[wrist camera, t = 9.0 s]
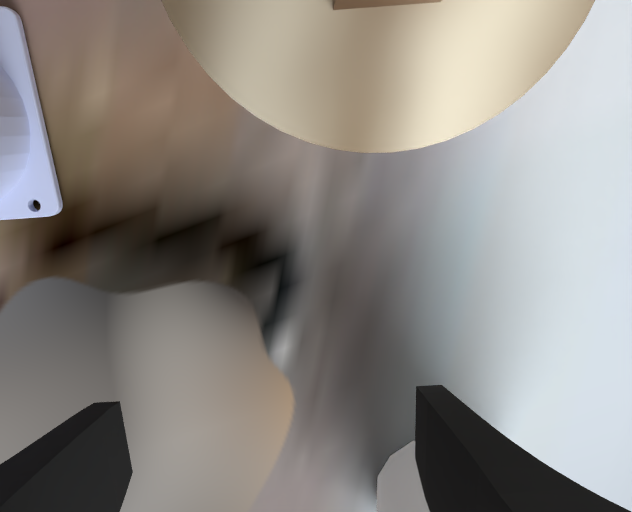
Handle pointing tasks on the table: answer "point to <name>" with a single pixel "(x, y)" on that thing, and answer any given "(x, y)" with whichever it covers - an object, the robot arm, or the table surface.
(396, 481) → the foam cup
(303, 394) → the table surface
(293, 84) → the lid
